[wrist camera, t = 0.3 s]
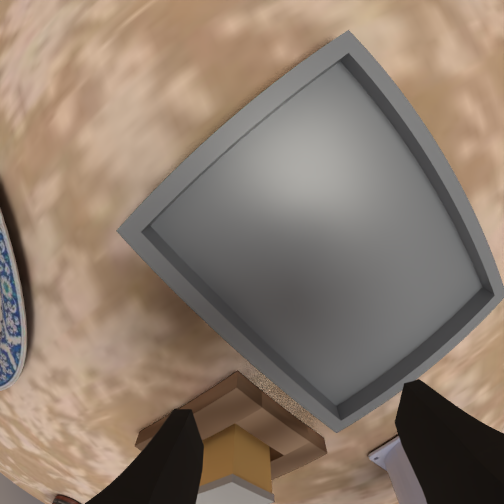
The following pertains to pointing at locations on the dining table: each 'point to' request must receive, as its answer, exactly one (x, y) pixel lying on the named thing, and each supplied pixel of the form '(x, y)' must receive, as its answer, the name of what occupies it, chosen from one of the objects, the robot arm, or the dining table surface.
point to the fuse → (235, 469)
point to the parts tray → (324, 237)
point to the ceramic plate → (10, 314)
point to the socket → (251, 423)
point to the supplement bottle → (64, 500)
